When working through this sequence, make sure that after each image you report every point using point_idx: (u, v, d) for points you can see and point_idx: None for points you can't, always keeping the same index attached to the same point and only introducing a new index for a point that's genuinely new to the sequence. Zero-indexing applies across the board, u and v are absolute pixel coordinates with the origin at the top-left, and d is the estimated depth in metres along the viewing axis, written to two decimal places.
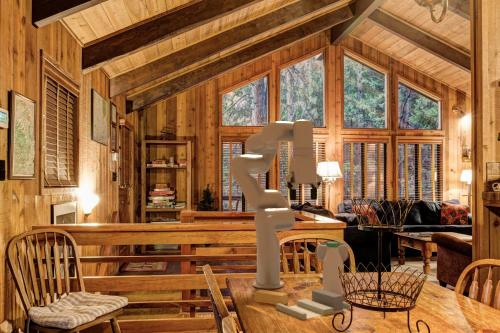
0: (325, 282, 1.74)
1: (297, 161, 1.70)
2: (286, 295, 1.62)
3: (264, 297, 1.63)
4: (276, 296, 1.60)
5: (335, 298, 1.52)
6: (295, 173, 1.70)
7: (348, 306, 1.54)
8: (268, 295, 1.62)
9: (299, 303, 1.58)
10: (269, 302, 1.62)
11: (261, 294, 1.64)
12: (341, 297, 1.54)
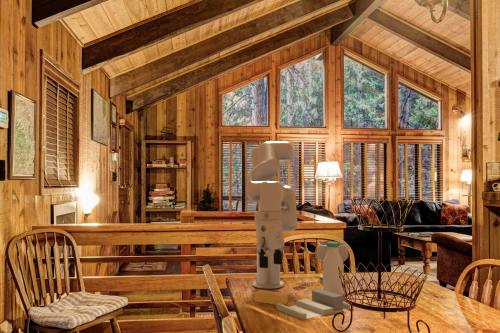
0: (325, 282, 1.74)
1: None
2: (286, 295, 1.62)
3: (264, 297, 1.63)
4: (276, 296, 1.60)
5: (335, 298, 1.52)
6: None
7: (348, 306, 1.54)
8: (268, 295, 1.62)
9: (299, 303, 1.58)
10: (269, 302, 1.62)
11: (261, 294, 1.64)
12: (341, 297, 1.54)
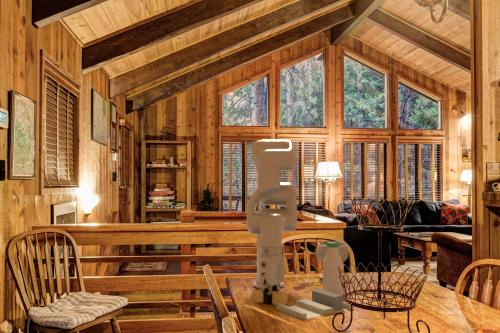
0: (325, 282, 1.74)
1: None
2: (286, 294, 1.62)
3: None
4: (276, 295, 1.60)
5: (335, 298, 1.52)
6: None
7: (348, 306, 1.54)
8: None
9: (299, 303, 1.58)
10: None
11: (261, 293, 1.64)
12: (341, 297, 1.54)
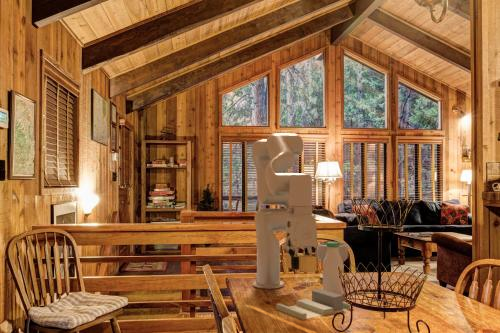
0: (325, 282, 1.74)
1: None
2: (314, 258, 1.48)
3: None
4: (302, 258, 1.48)
5: (335, 298, 1.52)
6: None
7: (348, 306, 1.54)
8: None
9: (299, 303, 1.58)
10: None
11: (290, 256, 1.54)
12: (341, 297, 1.54)
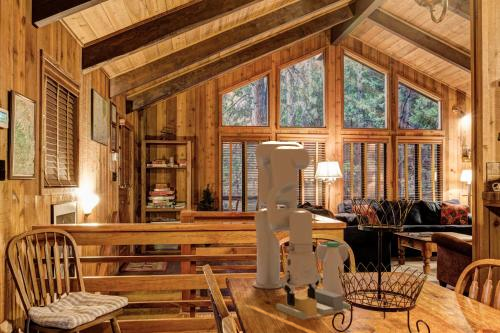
0: (325, 282, 1.74)
1: None
2: (315, 302, 1.48)
3: None
4: (302, 302, 1.48)
5: (335, 298, 1.52)
6: None
7: (348, 306, 1.54)
8: (296, 300, 1.51)
9: None
10: (297, 307, 1.50)
11: None
12: (341, 297, 1.54)
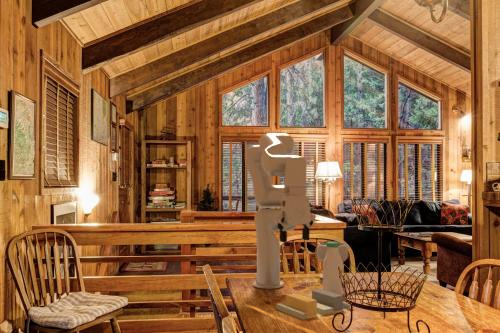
0: (325, 282, 1.74)
1: None
2: (315, 302, 1.48)
3: (293, 301, 1.52)
4: (302, 302, 1.48)
5: (335, 298, 1.52)
6: None
7: (348, 306, 1.54)
8: (296, 300, 1.51)
9: None
10: (297, 307, 1.50)
11: (291, 298, 1.53)
12: (341, 297, 1.54)
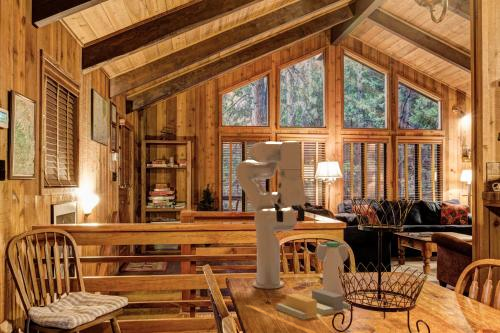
0: (325, 282, 1.74)
1: None
2: (315, 302, 1.48)
3: (293, 301, 1.52)
4: (302, 302, 1.48)
5: (335, 298, 1.52)
6: None
7: (348, 306, 1.54)
8: (296, 300, 1.51)
9: None
10: (297, 307, 1.50)
11: (291, 298, 1.53)
12: (341, 297, 1.54)
